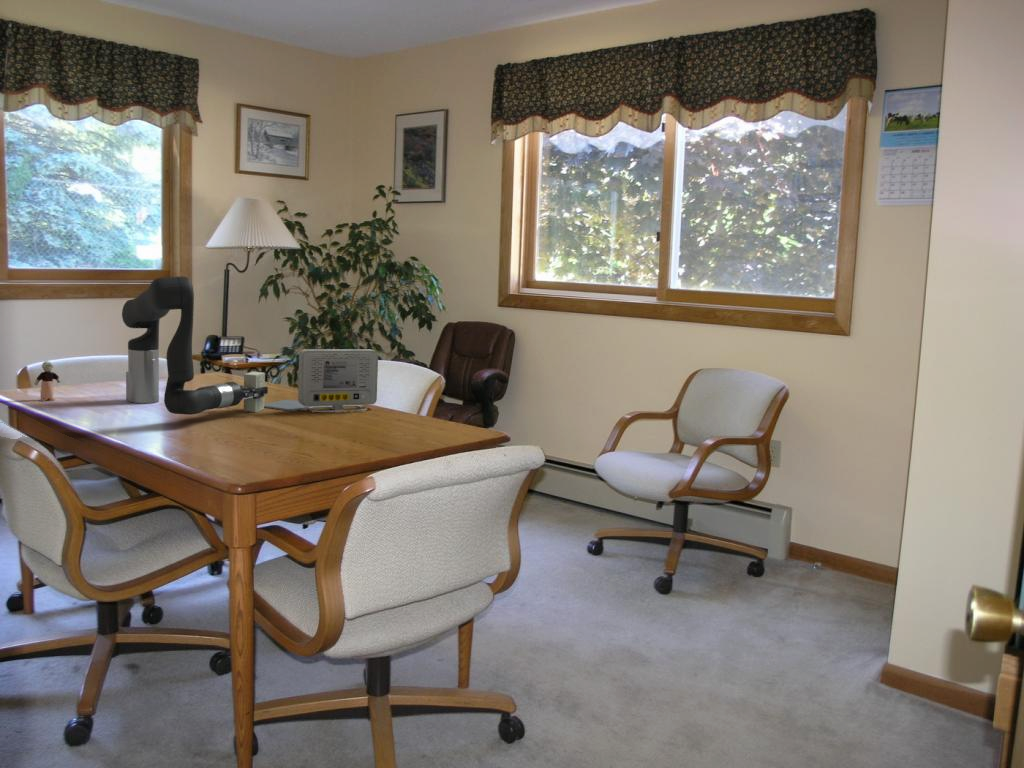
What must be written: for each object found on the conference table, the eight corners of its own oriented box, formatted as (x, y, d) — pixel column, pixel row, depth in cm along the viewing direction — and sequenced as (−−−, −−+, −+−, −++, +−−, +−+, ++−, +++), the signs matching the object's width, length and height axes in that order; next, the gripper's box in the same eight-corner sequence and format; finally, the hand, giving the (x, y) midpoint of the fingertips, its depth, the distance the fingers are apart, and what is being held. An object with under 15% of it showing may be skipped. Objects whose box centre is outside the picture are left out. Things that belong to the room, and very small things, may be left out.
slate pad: (259, 406, 290) (259, 404, 290) (286, 401, 303) (286, 399, 302) (293, 411, 284) (293, 409, 284) (319, 405, 297) (319, 404, 297)
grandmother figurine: (40, 402, 278) (39, 362, 276) (33, 400, 280) (32, 361, 278) (63, 399, 284) (62, 360, 283) (56, 398, 286) (55, 359, 284)
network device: (370, 406, 302) (372, 348, 299) (379, 410, 294) (380, 351, 291) (296, 408, 290) (297, 348, 287) (302, 413, 282) (303, 351, 279)
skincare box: (252, 408, 287) (252, 371, 285) (265, 409, 286) (265, 372, 284) (243, 411, 280) (243, 373, 279) (255, 412, 280) (256, 374, 278)
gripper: (241, 385, 266) (277, 380, 281) (205, 380, 272) (242, 375, 287) (241, 410, 267) (277, 403, 283) (204, 404, 273) (242, 397, 288)
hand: (259, 389), depth 285 cm, fingers open, 5 cm apart
